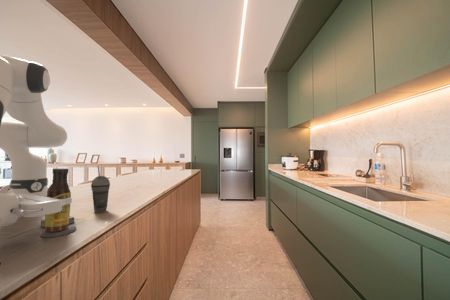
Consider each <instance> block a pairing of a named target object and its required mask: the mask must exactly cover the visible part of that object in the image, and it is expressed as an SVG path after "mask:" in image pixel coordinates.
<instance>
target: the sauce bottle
mask: <svg viewBox="0 0 450 300" xmlns="http://www.w3.org/2000/svg"><path fill="white" fill-rule="evenodd" d="M68 174H69V168H66V167H65V168H64V167H63V168H53V169H52V175H53V176H52V180H51V181H52V182H51V184H50V185H49V187H48V191H47V197H50V198H56V199H63V198H72V196H71V194H72V192H71V190H70V187H69V183H68ZM70 212H71V203H70V204H66V205H64V206H62V211H60V212H58V213H54V214H49V215H44V219H45V224H44V226H45V227H44V226H43V227H44V230H45V232H57V231H62V230H65V229H66V228H68V225H70V224H69V216H71V215H70V214H71V213H70Z"/></svg>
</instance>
